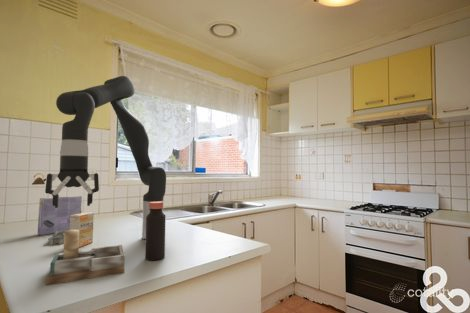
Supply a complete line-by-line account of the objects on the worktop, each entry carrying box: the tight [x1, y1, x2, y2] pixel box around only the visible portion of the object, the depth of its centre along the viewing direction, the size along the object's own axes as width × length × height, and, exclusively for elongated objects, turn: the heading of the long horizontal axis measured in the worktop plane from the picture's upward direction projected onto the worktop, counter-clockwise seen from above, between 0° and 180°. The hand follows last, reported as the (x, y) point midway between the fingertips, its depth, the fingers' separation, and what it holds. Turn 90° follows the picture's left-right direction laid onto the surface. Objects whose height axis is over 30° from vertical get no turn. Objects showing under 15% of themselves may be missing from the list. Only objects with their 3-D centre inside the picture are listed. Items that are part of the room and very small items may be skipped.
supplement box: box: [70, 212, 95, 248], centre depth 111 cm, size 8×5×13 cm, turn 168°
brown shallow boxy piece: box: [45, 244, 125, 286], centre depth 84 cm, size 20×16×5 cm
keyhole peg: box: [62, 230, 80, 260], centre depth 82 cm, size 6×6×11 cm
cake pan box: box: [37, 195, 83, 236], centre depth 134 cm, size 19×5×18 cm, turn 144°
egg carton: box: [47, 230, 64, 246], centre depth 116 cm, size 11×8×4 cm
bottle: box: [144, 201, 167, 262], centre depth 95 cm, size 7×7×20 cm
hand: (72, 206), depth 82 cm, fingers open, 8 cm apart
